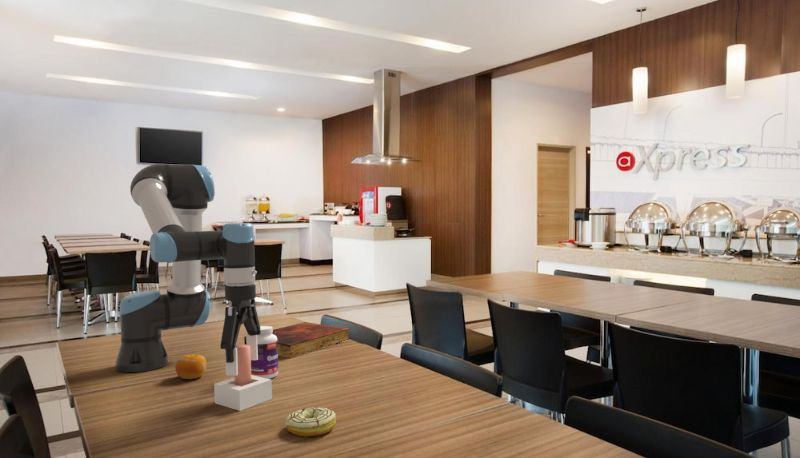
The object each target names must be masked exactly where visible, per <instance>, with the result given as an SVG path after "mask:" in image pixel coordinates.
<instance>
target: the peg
mask: <svg viewBox="0 0 800 458" xmlns="http://www.w3.org/2000/svg"><path fill="white" fill-rule="evenodd" d="M235 348H237V360H238V375H237V376H234V377H235V385H237V386H244V385H247V384H250V383H251V349H250V345H245V344H238V345H236V346H235Z"/></svg>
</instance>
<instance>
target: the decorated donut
mask: <svg viewBox="0 0 800 458" xmlns="http://www.w3.org/2000/svg"><path fill="white" fill-rule="evenodd" d="M336 422H337V417H336V412H334V410H332V409H329V408H326V407H304V408H301V409H298V410H296V411H294V412H292V413H291V414H289V415H288V416H287V417H286V418H285V426H286V429H287V431H288V432H289V433H291V434H292V435H295V436H298V437H303V438H304V437H306V438H309V437H317V436H323V435H325V434H327V433H329V432H330V431H331V430H332V429H333V427H335V425H336Z"/></svg>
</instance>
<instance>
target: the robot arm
mask: <svg viewBox="0 0 800 458" xmlns="http://www.w3.org/2000/svg"><path fill="white" fill-rule="evenodd" d="M213 178H214V177H213V175H212V173H211V171H210V169H209V168H207V166H204V165H200V164H199V165H196V164H177V163H176V164H174V163H173V164H172V163H171V164H170V163H168V164H166V163H155V164H151V165H148V166H145V167H143V168H142V169H141V170H139V171H137V173H136V174H135V175H134V177H133V178H132V180H131V182H130V186H129V189H130V190H129V191H130V195H131V198H132V200H133V202H134V203H135V204H136V206H139V207H140V208H141V211H142V213H143V215H144V218H145V219H146V222H147V224H148V226H149V228H150V231H151V233H152V234H151V236H150V237H149V238H150V239H149V253H150V258H151V259H152V261H154V262H155V263H167V264H172V276H171V277H172V282H171V283H170V284H169V285H168V286H167V287H166V293H162V294H161V291H159V290H146V291H145V290H144V291H141V292H136V293H132V294H128V295H127V296H125V297H123V298H122V299H121V300H120V303H119V304H120V305H119V313H118V314H119V315H120V316H119V317H120V320H119V321H120V342H121V344H120V348H119V350H118V354H117V357H116V360H115V370H116V371H117V372H120V373H121V372H122V373H139V372H146V371H153V370H156V369H159V368H160V369H161V368H162V367H165V366H166V365H168V364H169V355H168V352H167V350H166V348H165V345H164V343H163V340H162V332H163V331H167V330H175V329H182V328H194V327H196V326H201V325H203V324H205V322H206V321H207V320H208V318H209V316H210V313H211V305H212V304H211V296H210V293H209V291H207V290H206V288H205V285H203V284H202V283H201V270H202V269H201V267H202V261H206V260H210V261H211V260H223V264H224V265H223V276H224V277H223V279H224V281H223V283H224V284H226V285H225V286H224V299H225V300H226V301H228V302H231V305H230V306H226V307H225V310H224V319H223V320H224V322H223V323H224V324H223V328H222V333H221V334H222V335H221V340H220V345H219V346H220V349H221V350H224V358H225V376H234V377H235V376H237V375H238V360H237V348H235V346H237V342H238V338H239V333H240V330H241V327H242V325H243V326H244V328H245V330H246V332H247V333H246V334H247V335H245V336H246V343H247V345H250V349H251V360H258V347H257V335H260V334H261V331H260V326H261V325H260V321H259V316H258V312H257V308H256V307H257V306H256V300H255V299H256V297H257V293H256V292H257V289H256V287H257V285H256V284H255V281H256V275H257V273H258V271H257V270H256V265H255V262H256V259H255V258H256V256H255V255H256V253H255V238H256V236H255V231H254V225H253V224H252V223H250V222H239V223H238V222H236V223H235V222H233V223H225V224H224V225H223V227H222V228H223V229H218V230H206V231H205V230H203V231H202V229H203V213H204V212H205V211H206V210H207V209H208V205H209V204H208V203H210V202H213V201H214V199H215V193H216V192H215V182H214V179H213Z"/></svg>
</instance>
